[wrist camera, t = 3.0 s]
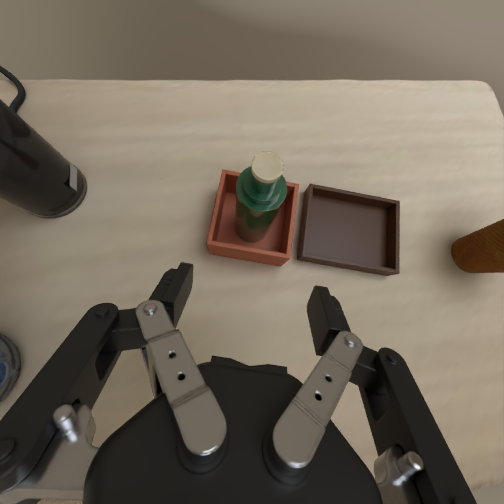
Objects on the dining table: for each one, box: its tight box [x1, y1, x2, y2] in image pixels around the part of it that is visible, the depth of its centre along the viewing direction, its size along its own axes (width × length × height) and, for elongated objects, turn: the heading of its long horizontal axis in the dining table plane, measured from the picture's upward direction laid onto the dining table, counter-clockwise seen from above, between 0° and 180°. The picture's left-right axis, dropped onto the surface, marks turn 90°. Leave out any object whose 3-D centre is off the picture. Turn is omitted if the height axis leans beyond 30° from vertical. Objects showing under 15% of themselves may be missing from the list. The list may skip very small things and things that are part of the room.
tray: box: [297, 184, 400, 276], centre depth 38 cm, size 15×12×3 cm
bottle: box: [234, 152, 287, 243], centre depth 29 cm, size 6×6×16 cm
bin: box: [207, 170, 299, 266], centre depth 35 cm, size 11×11×6 cm
